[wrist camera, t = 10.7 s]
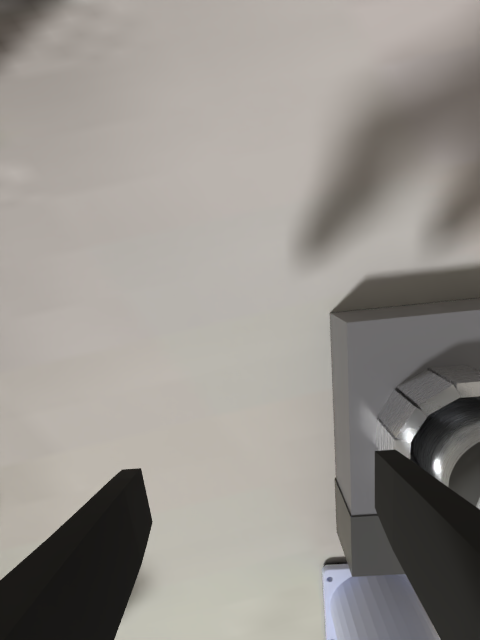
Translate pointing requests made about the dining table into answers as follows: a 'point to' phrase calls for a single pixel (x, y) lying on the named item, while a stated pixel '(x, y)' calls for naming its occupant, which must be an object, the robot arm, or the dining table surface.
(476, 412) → the lens
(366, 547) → the camera body
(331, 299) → the dining table surface
